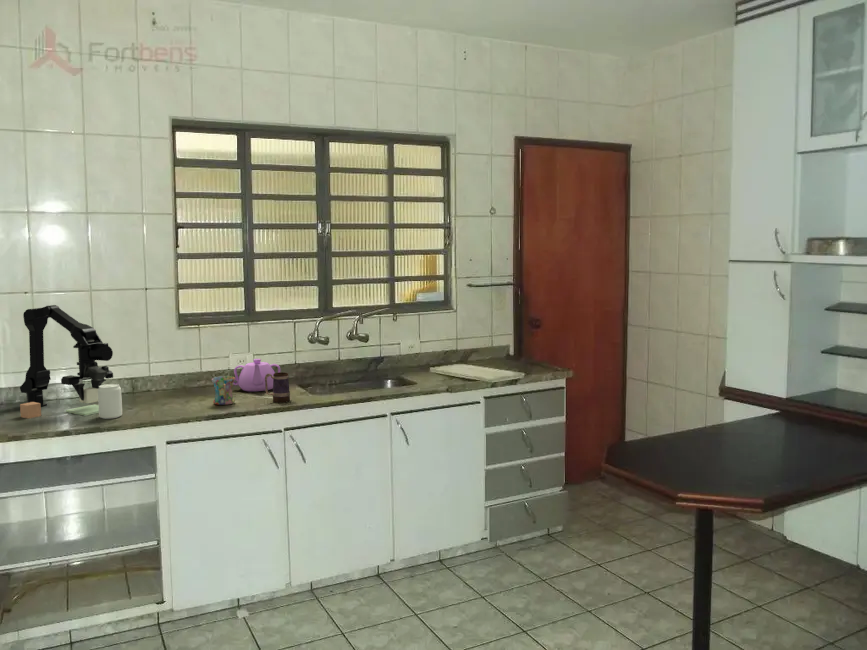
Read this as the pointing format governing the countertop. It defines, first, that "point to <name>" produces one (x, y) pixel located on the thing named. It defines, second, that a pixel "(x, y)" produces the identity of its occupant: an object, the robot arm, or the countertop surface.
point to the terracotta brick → (30, 410)
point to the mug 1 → (223, 390)
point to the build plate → (85, 410)
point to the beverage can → (109, 401)
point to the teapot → (255, 376)
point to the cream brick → (90, 395)
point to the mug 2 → (279, 387)
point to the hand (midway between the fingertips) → (88, 398)
